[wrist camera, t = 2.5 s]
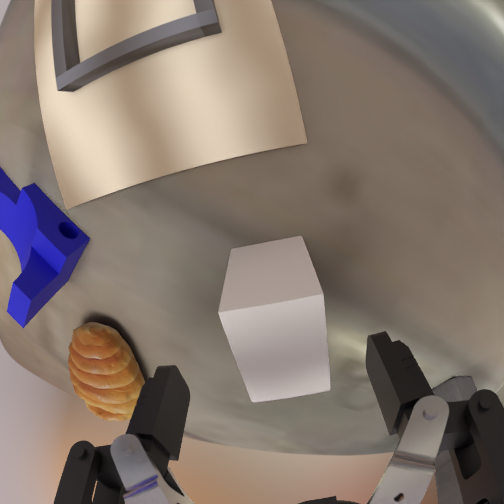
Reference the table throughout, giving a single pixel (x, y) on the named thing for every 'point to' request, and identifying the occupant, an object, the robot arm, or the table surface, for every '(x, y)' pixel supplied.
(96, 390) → the pastry
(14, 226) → the cable clip
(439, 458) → the coffeepot
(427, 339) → the table surface
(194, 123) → the board
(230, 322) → the keyed plug
